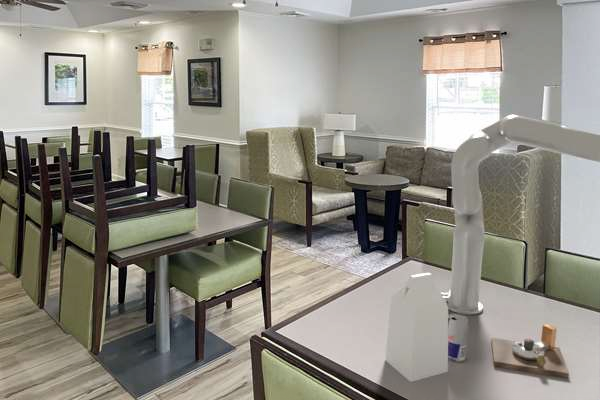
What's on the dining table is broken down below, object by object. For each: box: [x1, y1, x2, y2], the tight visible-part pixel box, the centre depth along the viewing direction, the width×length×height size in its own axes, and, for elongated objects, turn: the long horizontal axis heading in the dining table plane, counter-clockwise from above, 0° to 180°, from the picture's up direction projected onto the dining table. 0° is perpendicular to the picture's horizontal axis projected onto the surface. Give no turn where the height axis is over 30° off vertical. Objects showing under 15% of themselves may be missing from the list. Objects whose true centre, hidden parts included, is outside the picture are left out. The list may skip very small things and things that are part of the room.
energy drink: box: [448, 313, 469, 363], centre depth 134 cm, size 5×5×12 cm
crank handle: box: [512, 323, 558, 361], centre depth 135 cm, size 13×8×6 cm, turn 116°
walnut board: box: [490, 337, 570, 379], centre depth 134 cm, size 18×14×6 cm
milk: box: [385, 272, 449, 383], centre depth 129 cm, size 12×12×26 cm
